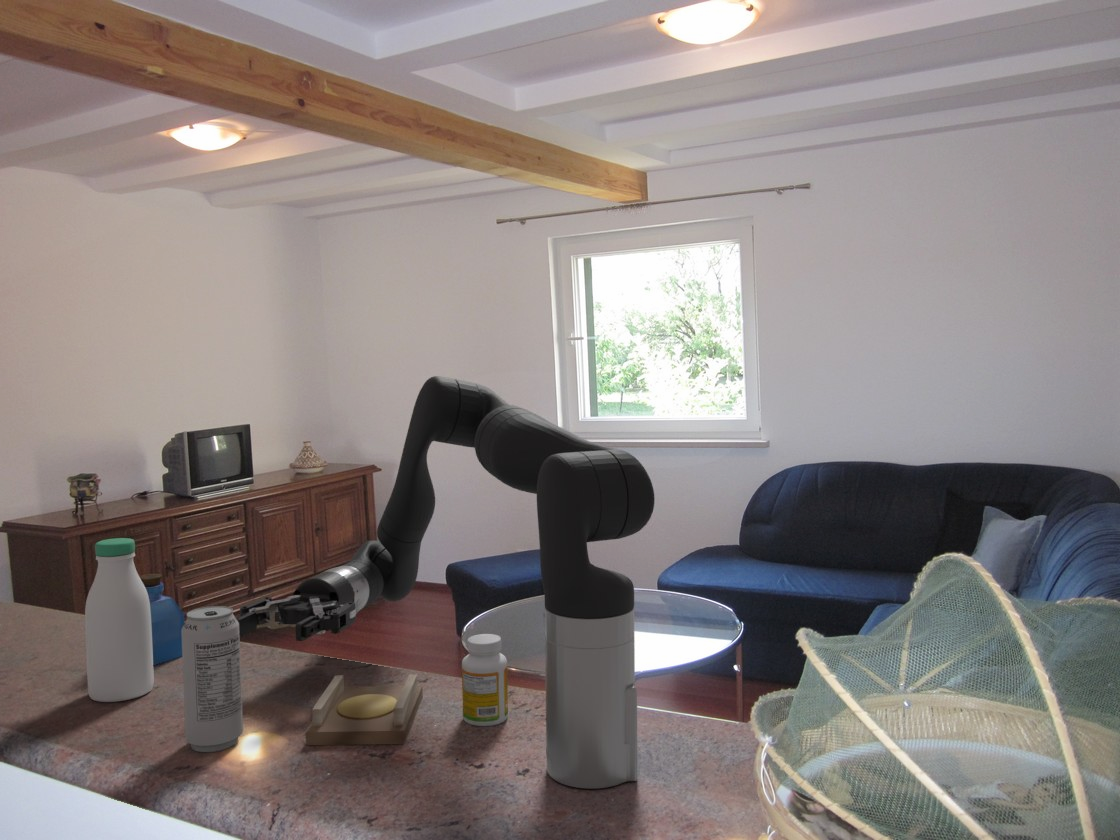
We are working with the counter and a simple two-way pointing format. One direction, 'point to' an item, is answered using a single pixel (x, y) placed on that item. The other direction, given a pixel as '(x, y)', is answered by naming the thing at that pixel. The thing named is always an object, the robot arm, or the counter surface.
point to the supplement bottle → (484, 681)
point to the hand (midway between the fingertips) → (267, 630)
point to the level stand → (364, 713)
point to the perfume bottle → (163, 621)
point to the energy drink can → (212, 678)
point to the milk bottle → (118, 626)
